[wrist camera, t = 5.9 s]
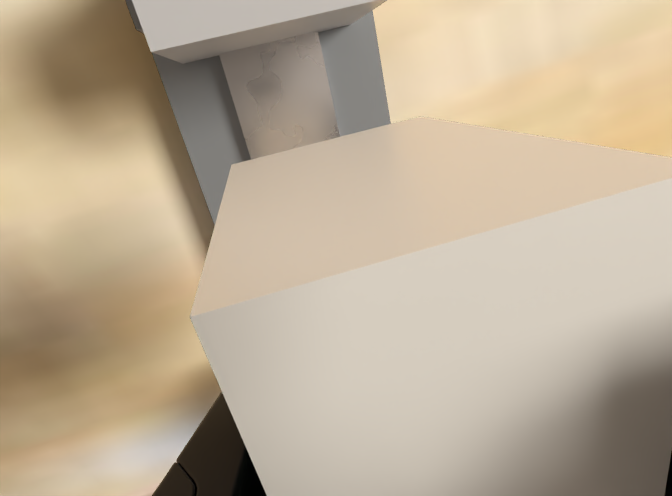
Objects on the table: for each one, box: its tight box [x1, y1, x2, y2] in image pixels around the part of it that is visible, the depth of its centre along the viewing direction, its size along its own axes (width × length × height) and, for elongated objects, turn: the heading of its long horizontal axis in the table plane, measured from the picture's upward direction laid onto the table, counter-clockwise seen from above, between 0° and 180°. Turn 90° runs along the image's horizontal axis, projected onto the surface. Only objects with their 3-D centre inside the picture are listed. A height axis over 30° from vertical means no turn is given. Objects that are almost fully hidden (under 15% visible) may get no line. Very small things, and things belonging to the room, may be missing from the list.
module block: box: [190, 116, 672, 496], centre depth 8 cm, size 5×8×6 cm, turn 13°
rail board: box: [125, 0, 391, 225], centre depth 17 cm, size 9×23×7 cm, turn 13°
